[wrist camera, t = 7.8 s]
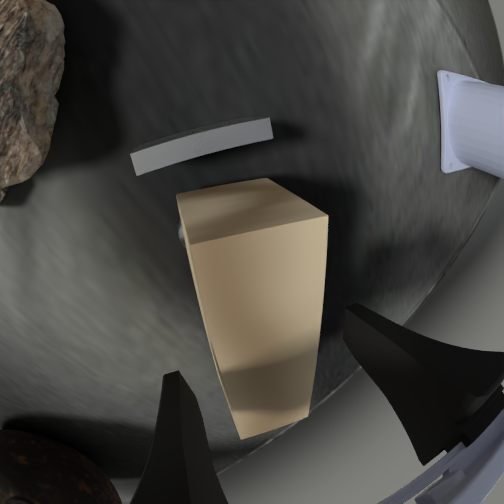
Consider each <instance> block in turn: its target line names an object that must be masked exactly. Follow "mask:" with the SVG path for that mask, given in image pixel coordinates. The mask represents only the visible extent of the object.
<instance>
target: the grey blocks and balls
mask: <svg viewBox="0 0 504 504" xmlns="http://www.w3.org/2000/svg"><path fill="white" fill-rule="evenodd" d="M268 139H273V134H272V128H271V122H270V118H265V117H243V118H238V119H233V120H228V121H224V122H220V123H215V124H211V125H207V126H203V127H199V128H195V129H191V130H188V131H184V132H180V133H177V134H173V135H170V136H167V137H163V138H160V139H157V140H154V141H151V142H147V143H144V144H141V145H138V146H136V147H135V149H134V150H133V151H132V153H131V154H130V155H131V158H132V162H133V165H134V168H135V172H136V175H137V176H138V175H141V174H144V173H146V172H149V171H152V170H155V169H159V168H162V167H165V166H168V165H171V164H174V163H178V162H181V161H184V160H188V159H191V158H195V157H198V156H202V155H206V154H209V153H213V152H217V151H221V150H225V149H229V148H233V147H237V146H241V145H245V144H250V143H254V142H259V141H264V140H268ZM177 229H178V233H179V238H180V241H181V243H182V244H183V245H184V246H185V247H186V244H185V239H184V234H183V229H182V224H181V219H180V217H179V218H178V221H177Z"/></svg>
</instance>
